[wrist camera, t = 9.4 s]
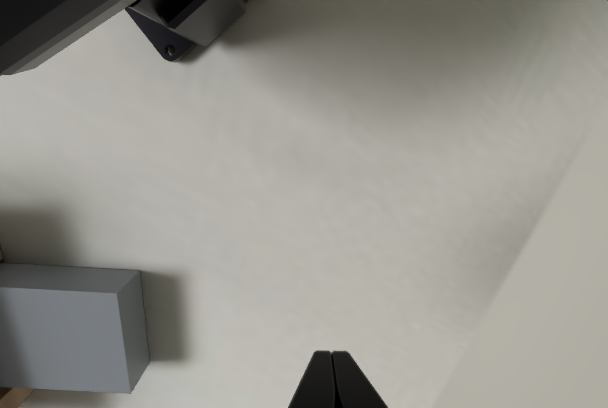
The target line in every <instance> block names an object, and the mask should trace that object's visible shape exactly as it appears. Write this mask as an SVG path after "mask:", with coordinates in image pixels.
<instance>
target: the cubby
mask: <svg viewBox="0 0 608 408" xmlns="http://www.w3.org/2000/svg"><path fill="white" fill-rule="evenodd" d="M2 259H3V256H2V253H1V249H0V260H2ZM33 390H34V389H32V388H13V387H0V408H17V407H18V406H19V405H20V404H21V403H22V402H23V401H24V400H25V399H26V398H27V397H28V396H29V395H30V394H31V392H32V391H33Z"/></svg>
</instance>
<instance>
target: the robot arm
mask: <svg viewBox="0 0 608 408" xmlns="http://www.w3.org/2000/svg"><path fill="white" fill-rule="evenodd" d="M247 1H249V0H0V76H1V75H12V74H16V73H20V72H23V71H27V70H30V69H34V68H36V67H37V66H39V65H40V64H42V63H43V62H45V61H46V60H48V59H49V58H51V57H52V56H54V55H55V54H57V53H58V52H60V51H61V50H63V49H64V48H66V47H67V46H69V45H70V44H72V43H73V42H75V41H76V40H78V39H79V38H81V37H82V36H84V35H85V34H87V33H88V32H90V31H91V30H93V29H94V28H96V27H97V26H99V25H100V24H102V23H103V22H105V21H106V20H108V19H109V18H111V17H112V16H114V15H115V14H117V13H118V12H120V11H121V10H123V9H125V10H126V11H127V13H128V14H129V15H130V16H131V18H132V19H133V20H134V21H135V23H136V24H137V25H138V27H139V28H140V29H141V30H142V32H143V33H144V34H145V35H146V37H147V38H148V39H149V41H150V42H151V43H152V44H153V46H154V47H155V48H156V49H157V51H158V52H159V53H160V55H161V56H162V57H163V58H164V59H165V60H168V61H171V62H178V61H179V60H181V59H182V58H183V57H184V56H185V55H187V54H188V53H189V52H190V51H191V50H192V49H193V48H195V47H196V46H197V45H198V44H199V45H202V46H207V45H208V44H210V43H211V42H212V41H213V40H214V39H215V38H216V37H218V36H219V35H220V34H221V33H222V32H223V31H225V30H226V29H227V28H228V27H229V26H230V25H231V24H233V23H234V22H235V21H236V20H237V19H238V18H240V17H241V16H242V15H243V14H244V13H245V8H246V5H245V3H246V2H247ZM170 46H174V48H175V53H174V55H172V56H170V55H169V53H168V48H169V47H170ZM288 408H388V407H387V405H386V404H385V403H384V401H383V400H382V398H381V397H380V396H379V394H378V393H377V391H376V390H375V389H374V387H373V386H372V384H371V383H370V382H369V380H368V379H367V377H366V376H365V375H364V373H363V372H362V370H361V369H360V368H359V366H358V365H357V363H356V362H355V361H354V359H353V358H352V357H351V355H350V354H349V353H348V352H347V351H333V352H332V353H331V352H330V351H319V350H317V351H315V352H314V354H313V356H312V358H311V360H310V362H309V364H308V366H307V368H306V370H305V373H304V375H303V377H302V379H301V381H300V383H299V385H298V387H297V390H296V392H295V394H294V396H293V398H292V400H291V402H290V404H289V406H288Z"/></svg>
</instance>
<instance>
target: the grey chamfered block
mask: <svg viewBox="0 0 608 408" xmlns="http://www.w3.org/2000/svg"><path fill="white" fill-rule="evenodd" d="M149 363H150V359H149V350H148V341H147V332H146V323H145V314H144V305H143V296H142V287H141V278H140V270H123V269H104V268H86V267H68V266H49V265H31V264H12V263H0V387H13V388H32V389H51V390H70V391H89V392H108V393H127V394H131V392H132V391H133V389H134V387H135V386H136V384H137V382H138V381H139V379H140V377H141V376H142V374H143V373H144V371H145V369H146V368H147V366H148V364H149Z"/></svg>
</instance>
